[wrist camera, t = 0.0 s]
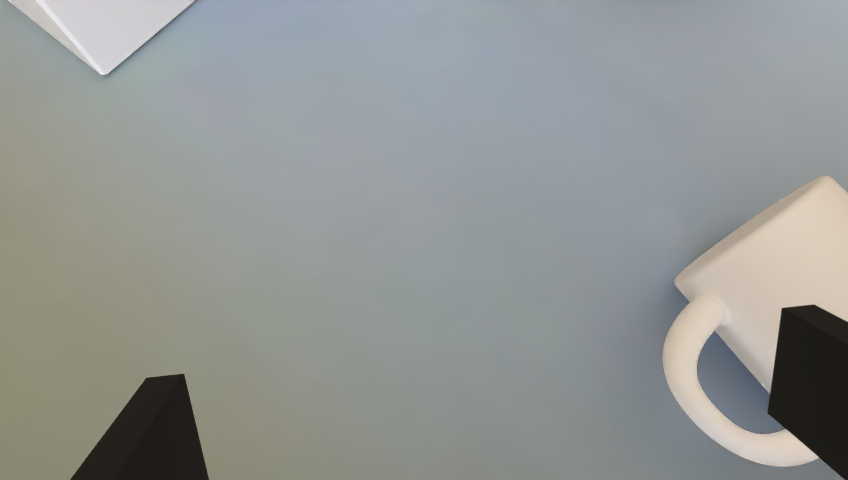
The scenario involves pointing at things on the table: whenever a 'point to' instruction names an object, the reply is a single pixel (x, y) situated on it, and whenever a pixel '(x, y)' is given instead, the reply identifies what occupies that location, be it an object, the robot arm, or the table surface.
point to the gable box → (102, 25)
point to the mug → (759, 305)
